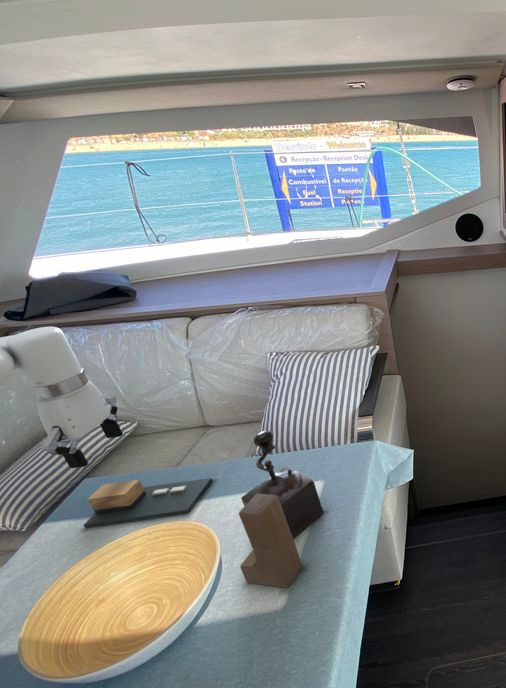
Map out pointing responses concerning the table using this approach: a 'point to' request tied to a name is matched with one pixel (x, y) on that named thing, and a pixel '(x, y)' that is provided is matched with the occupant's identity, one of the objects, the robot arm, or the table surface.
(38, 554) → the table surface
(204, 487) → the slate board
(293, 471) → the manual coffee grinder
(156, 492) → the chalk mark
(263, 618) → the table surface
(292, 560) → the wooden block
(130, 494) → the eraser
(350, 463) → the table surface
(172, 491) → the chalk mark
